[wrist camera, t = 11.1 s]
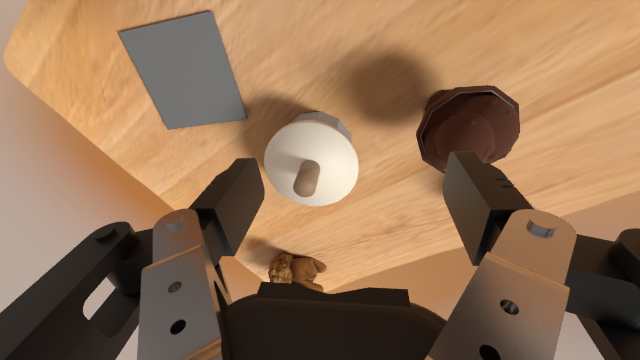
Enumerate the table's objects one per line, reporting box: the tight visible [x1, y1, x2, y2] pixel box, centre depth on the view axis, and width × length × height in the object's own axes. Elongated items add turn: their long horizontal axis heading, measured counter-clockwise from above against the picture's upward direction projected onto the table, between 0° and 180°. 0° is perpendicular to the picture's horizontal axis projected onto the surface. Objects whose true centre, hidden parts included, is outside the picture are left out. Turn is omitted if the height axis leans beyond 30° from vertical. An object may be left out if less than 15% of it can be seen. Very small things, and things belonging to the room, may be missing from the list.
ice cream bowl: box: [416, 85, 520, 173], centre depth 32 cm, size 11×11×15 cm
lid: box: [264, 120, 358, 206], centre depth 36 cm, size 14×14×6 cm
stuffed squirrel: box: [268, 253, 326, 292], centre depth 56 cm, size 10×14×13 cm
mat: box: [118, 11, 248, 130], centre depth 40 cm, size 15×15×1 cm
